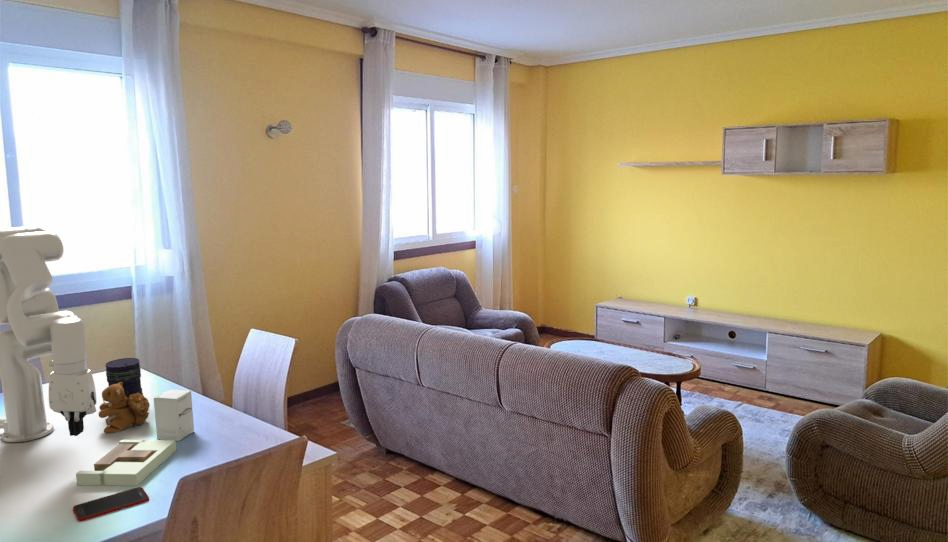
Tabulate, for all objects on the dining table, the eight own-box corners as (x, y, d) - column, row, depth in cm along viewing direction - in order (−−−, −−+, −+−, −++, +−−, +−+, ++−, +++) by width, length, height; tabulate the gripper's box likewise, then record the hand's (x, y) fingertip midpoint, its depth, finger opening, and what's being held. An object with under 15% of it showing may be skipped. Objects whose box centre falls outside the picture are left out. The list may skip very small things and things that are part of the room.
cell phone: (72, 510, 154) (71, 506, 154) (141, 489, 163) (141, 485, 163) (78, 523, 148) (78, 519, 148) (150, 501, 158) (150, 498, 157)
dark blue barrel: (106, 406, 218) (101, 362, 215) (138, 399, 224) (134, 356, 222) (114, 415, 211) (109, 369, 208) (148, 407, 217) (143, 362, 215)
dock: (77, 484, 165) (75, 473, 165) (122, 450, 185) (121, 439, 185) (136, 485, 165) (135, 474, 164) (176, 450, 184) (175, 440, 184)
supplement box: (179, 441, 190) (175, 399, 188) (156, 439, 192) (152, 397, 190) (195, 431, 197) (191, 390, 195) (172, 429, 199) (169, 388, 197)
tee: (95, 477, 169) (93, 464, 169) (120, 456, 181) (118, 444, 181) (138, 476, 169) (137, 463, 169) (161, 456, 181) (159, 443, 181)
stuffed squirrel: (104, 422, 205) (100, 380, 203) (155, 416, 209) (151, 375, 207) (96, 434, 196) (92, 391, 193) (150, 428, 200) (146, 386, 198)
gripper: (31, 369, 168) (38, 438, 171) (90, 372, 167) (96, 441, 171) (51, 360, 175) (58, 426, 179) (108, 362, 175) (113, 429, 178)
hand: (76, 433), depth 175 cm, fingers closed
